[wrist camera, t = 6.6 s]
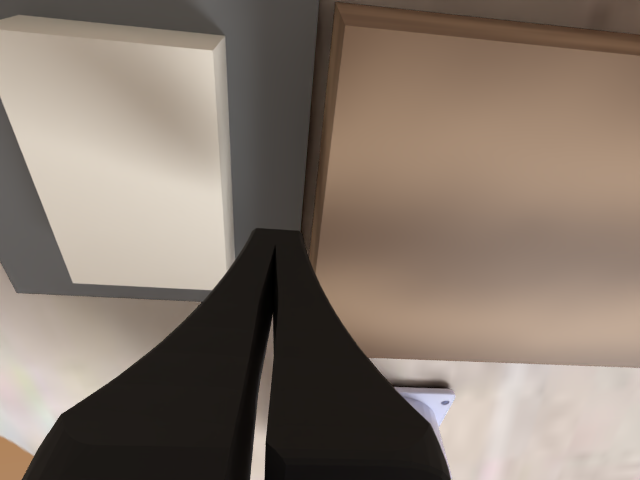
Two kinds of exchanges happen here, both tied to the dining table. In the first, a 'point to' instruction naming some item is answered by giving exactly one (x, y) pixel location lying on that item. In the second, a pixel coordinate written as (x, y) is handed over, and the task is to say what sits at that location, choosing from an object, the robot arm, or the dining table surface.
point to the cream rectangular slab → (125, 147)
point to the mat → (244, 127)
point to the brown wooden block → (480, 189)
